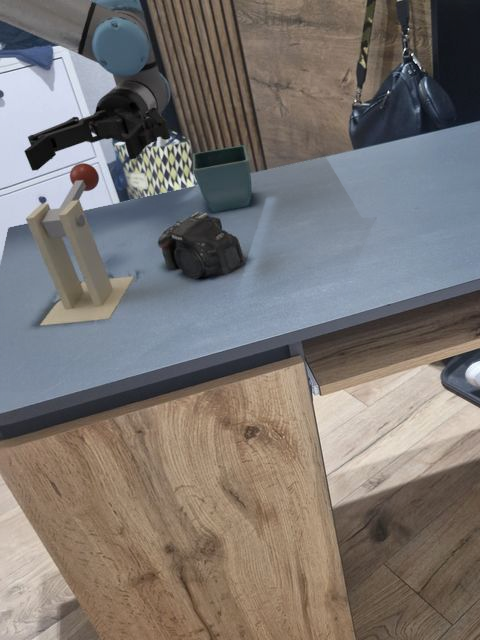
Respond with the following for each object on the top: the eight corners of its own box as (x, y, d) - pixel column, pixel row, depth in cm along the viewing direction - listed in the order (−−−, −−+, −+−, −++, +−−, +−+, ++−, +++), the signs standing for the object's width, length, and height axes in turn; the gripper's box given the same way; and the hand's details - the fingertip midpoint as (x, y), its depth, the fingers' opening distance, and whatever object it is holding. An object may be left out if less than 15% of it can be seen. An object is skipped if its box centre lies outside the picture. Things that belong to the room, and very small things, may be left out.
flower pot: (260, 213, 105) (249, 159, 100) (206, 223, 104) (192, 169, 99) (255, 195, 112) (245, 143, 107) (205, 204, 111) (192, 153, 106)
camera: (155, 287, 87) (136, 229, 82) (182, 258, 94) (166, 203, 89) (233, 288, 84) (218, 228, 79) (255, 258, 91) (242, 201, 86)
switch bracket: (74, 289, 90) (36, 195, 82) (137, 283, 89) (104, 188, 81) (43, 332, 81) (-4, 232, 73) (112, 326, 80) (72, 223, 72)
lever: (80, 183, 88) (70, 159, 86) (106, 180, 88) (95, 157, 86) (47, 243, 78) (33, 218, 76) (75, 240, 78) (62, 214, 76)
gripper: (208, 126, 104) (179, 171, 86) (60, 144, 105) (2, 192, 88) (196, 78, 99) (163, 114, 82) (42, 97, 101) (-23, 137, 84)
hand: (79, 154), depth 85 cm, fingers open, 13 cm apart
